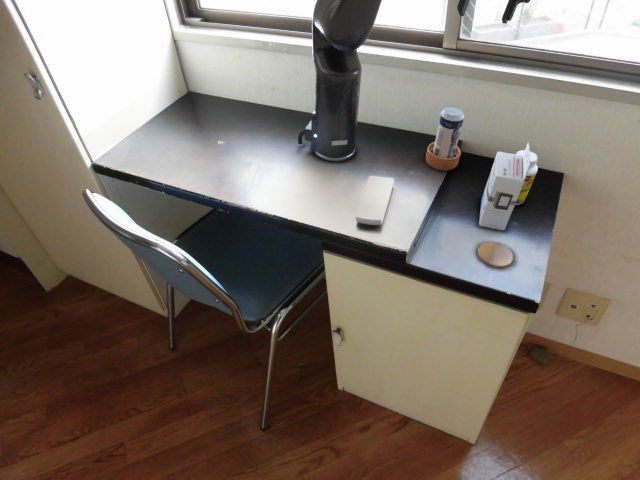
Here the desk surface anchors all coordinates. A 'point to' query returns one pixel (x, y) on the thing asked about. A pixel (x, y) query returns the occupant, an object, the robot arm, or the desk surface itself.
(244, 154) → the desk surface
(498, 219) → the ink box
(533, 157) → the supplement bottle
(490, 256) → the coaster
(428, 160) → the terracotta bowl
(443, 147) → the cylindrical canister
